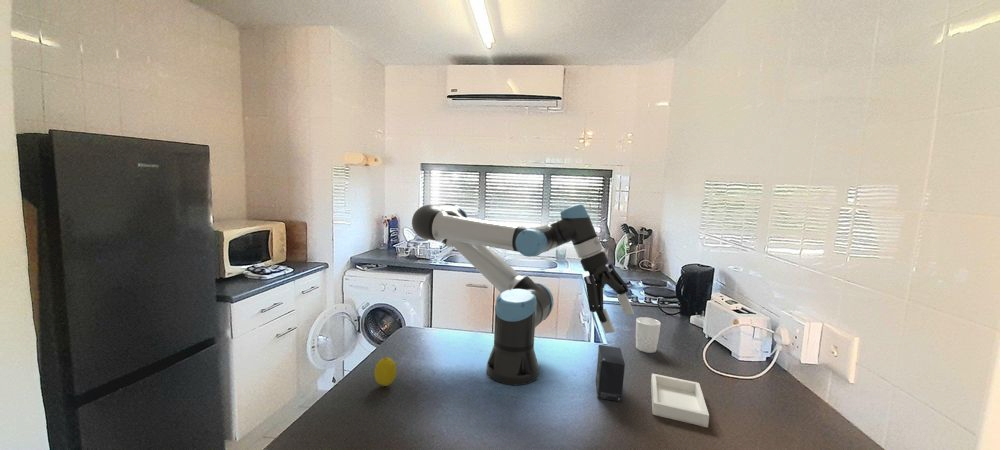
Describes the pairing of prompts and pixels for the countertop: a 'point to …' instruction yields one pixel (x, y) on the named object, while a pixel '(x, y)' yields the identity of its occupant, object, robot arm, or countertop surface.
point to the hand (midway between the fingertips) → (620, 323)
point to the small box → (610, 373)
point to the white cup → (647, 334)
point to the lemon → (385, 371)
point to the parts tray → (678, 400)
